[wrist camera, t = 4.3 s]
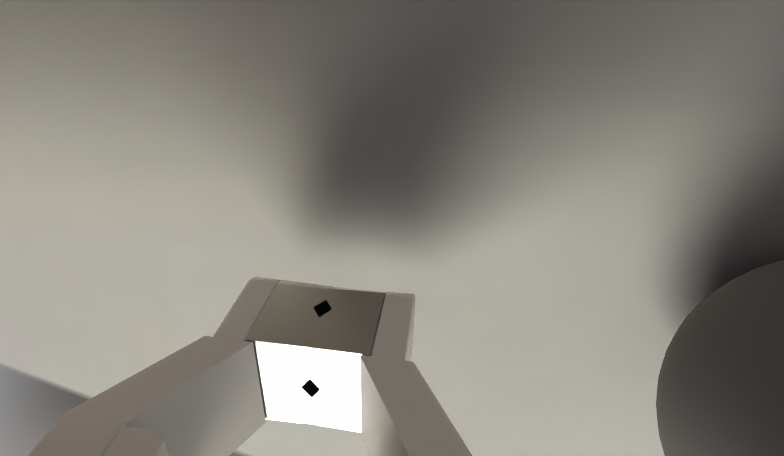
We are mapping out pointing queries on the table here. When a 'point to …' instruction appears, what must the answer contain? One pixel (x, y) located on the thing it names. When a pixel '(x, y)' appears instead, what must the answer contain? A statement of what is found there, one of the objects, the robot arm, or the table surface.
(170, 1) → the table surface
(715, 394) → the grey sphere
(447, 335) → the table surface
